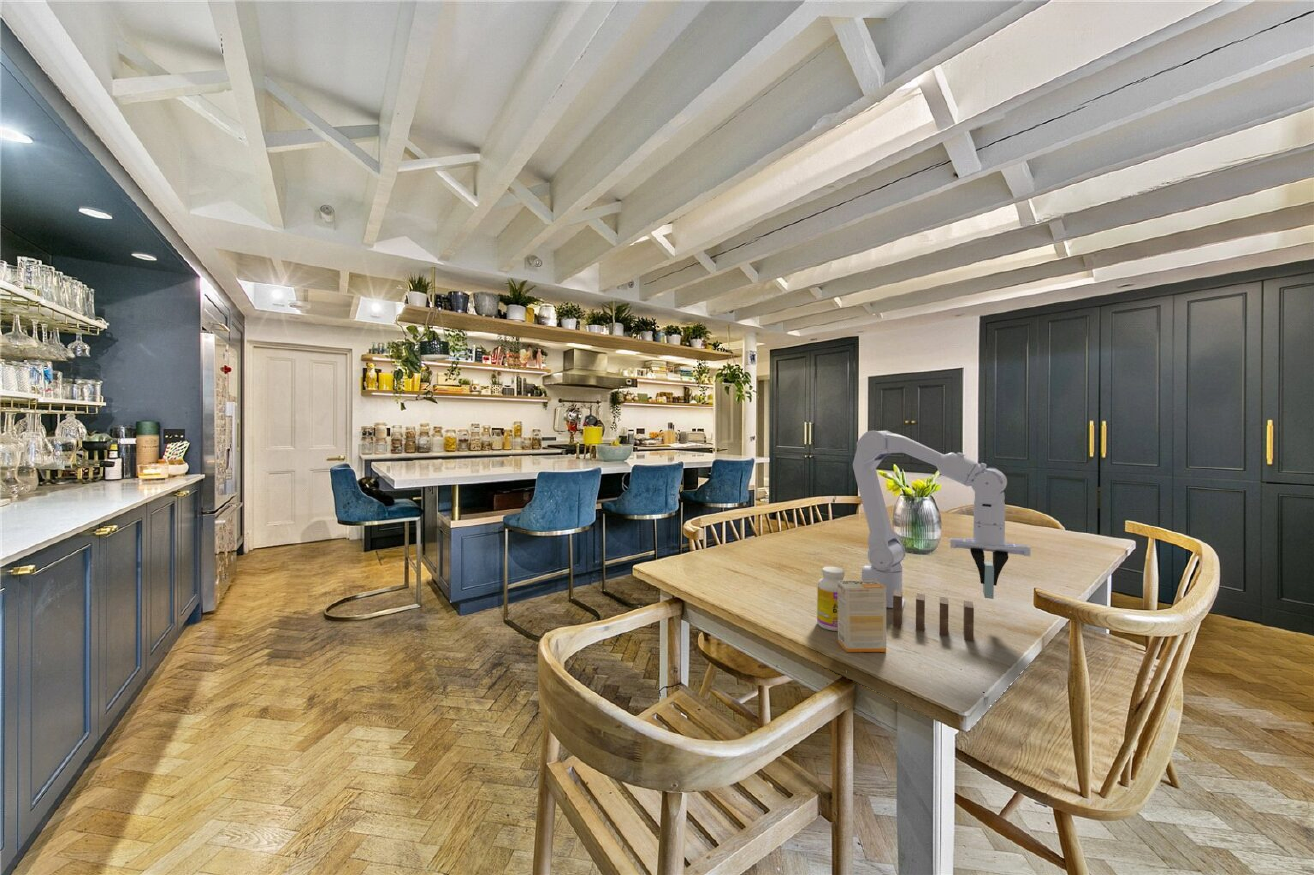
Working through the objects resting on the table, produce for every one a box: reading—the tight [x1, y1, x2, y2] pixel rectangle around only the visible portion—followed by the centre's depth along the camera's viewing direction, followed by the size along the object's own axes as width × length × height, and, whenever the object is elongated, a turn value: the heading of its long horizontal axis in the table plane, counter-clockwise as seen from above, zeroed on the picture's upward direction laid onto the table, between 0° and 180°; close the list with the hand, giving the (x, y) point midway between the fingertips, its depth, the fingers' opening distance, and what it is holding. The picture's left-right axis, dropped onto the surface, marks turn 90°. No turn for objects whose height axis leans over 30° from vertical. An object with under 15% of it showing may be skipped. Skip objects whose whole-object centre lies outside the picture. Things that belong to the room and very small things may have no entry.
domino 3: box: [938, 596, 949, 638], centre depth 103 cm, size 2×4×7 cm, turn 149°
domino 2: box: [915, 592, 926, 633], centre depth 105 cm, size 2×4×7 cm, turn 149°
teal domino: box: [982, 560, 995, 600], centre depth 106 cm, size 2×4×7 cm, turn 149°
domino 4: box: [962, 600, 975, 642], centre depth 101 cm, size 2×4×7 cm, turn 149°
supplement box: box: [837, 580, 887, 653], centre depth 96 cm, size 8×5×13 cm, turn 90°
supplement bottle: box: [816, 566, 845, 632], centre depth 106 cm, size 7×7×13 cm
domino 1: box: [892, 590, 903, 629], centre depth 108 cm, size 2×4×7 cm, turn 149°
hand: (988, 583), depth 106 cm, fingers closed on teal domino, 1 cm apart
